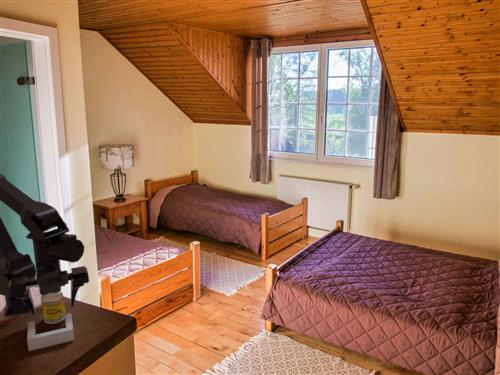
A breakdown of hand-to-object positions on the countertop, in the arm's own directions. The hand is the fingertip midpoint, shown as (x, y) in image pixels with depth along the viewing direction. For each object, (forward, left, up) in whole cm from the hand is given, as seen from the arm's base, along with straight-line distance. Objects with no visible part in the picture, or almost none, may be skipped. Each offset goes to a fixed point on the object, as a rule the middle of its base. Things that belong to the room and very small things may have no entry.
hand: (53, 310), depth 112 cm
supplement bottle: (0, 0, -3) cm, 3 cm away
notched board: (+9, -1, -3) cm, 9 cm away
